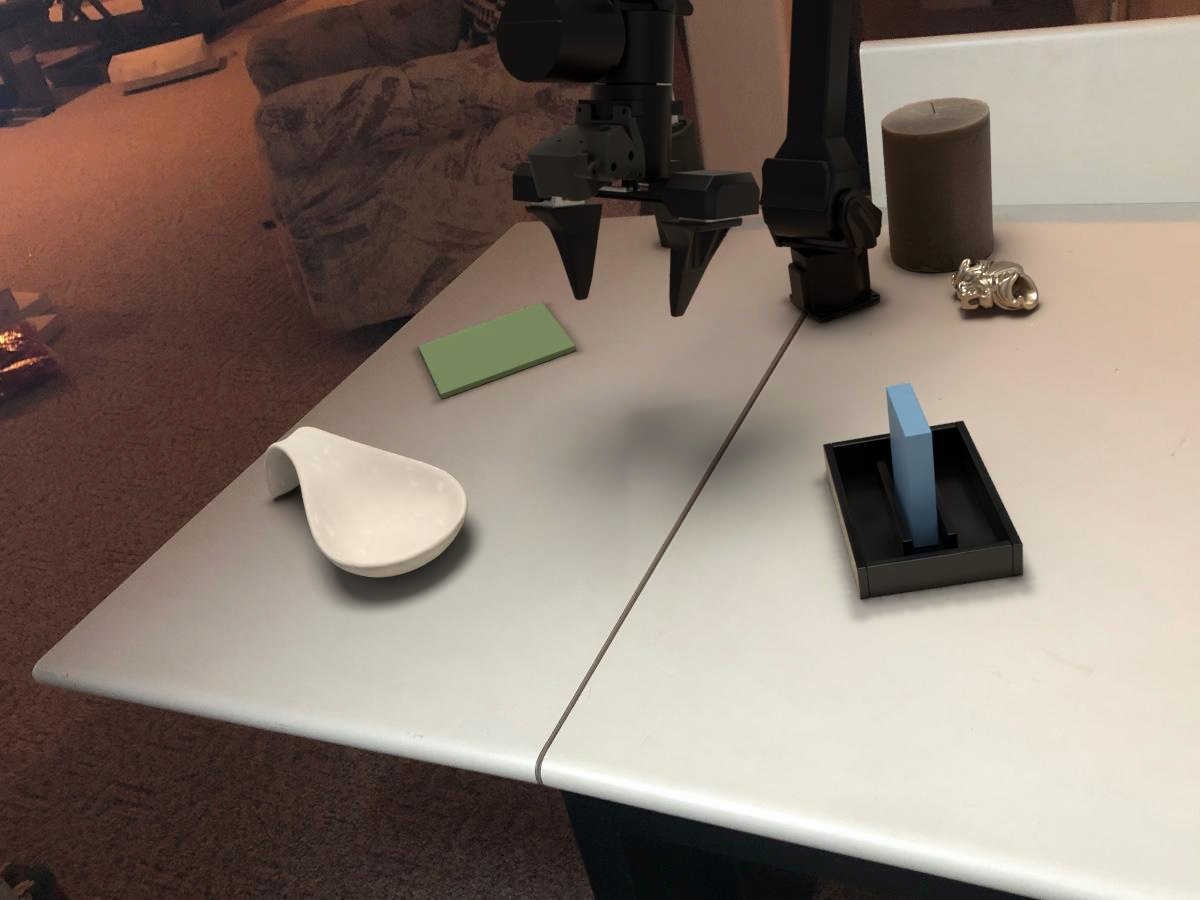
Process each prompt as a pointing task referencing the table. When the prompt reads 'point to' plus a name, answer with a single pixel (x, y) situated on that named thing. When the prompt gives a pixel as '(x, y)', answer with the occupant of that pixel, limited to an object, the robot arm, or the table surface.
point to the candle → (682, 151)
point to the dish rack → (964, 517)
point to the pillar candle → (938, 183)
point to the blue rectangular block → (913, 464)
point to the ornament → (994, 285)
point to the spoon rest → (367, 501)
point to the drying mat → (495, 349)
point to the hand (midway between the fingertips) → (627, 307)
